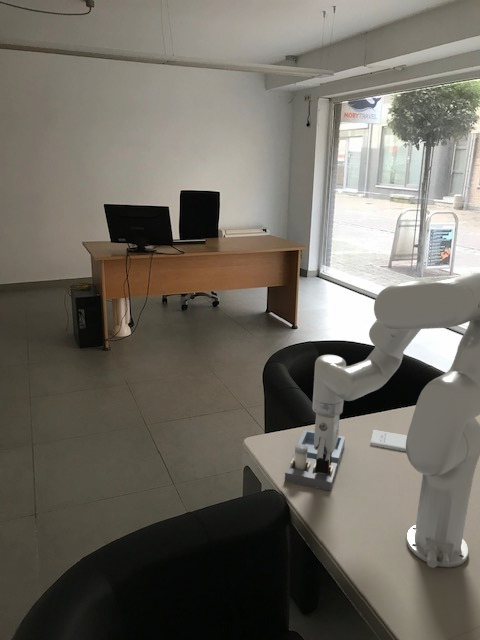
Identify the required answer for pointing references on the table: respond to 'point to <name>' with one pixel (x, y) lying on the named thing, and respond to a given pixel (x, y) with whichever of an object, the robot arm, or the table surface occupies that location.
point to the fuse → (300, 457)
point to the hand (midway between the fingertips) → (323, 467)
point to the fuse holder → (310, 475)
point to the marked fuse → (329, 464)
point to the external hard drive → (388, 440)
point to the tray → (308, 440)
